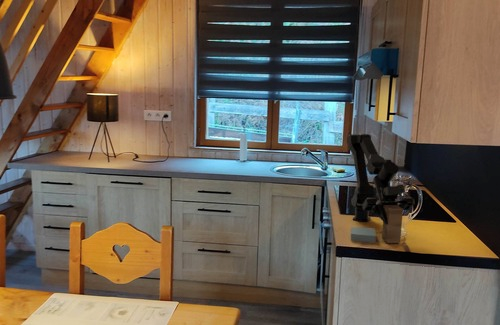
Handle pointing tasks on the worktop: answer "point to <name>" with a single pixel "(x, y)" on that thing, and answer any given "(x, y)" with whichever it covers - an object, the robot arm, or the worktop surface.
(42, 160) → the worktop surface
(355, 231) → the base block
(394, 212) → the walnut pillar
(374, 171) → the robot arm
